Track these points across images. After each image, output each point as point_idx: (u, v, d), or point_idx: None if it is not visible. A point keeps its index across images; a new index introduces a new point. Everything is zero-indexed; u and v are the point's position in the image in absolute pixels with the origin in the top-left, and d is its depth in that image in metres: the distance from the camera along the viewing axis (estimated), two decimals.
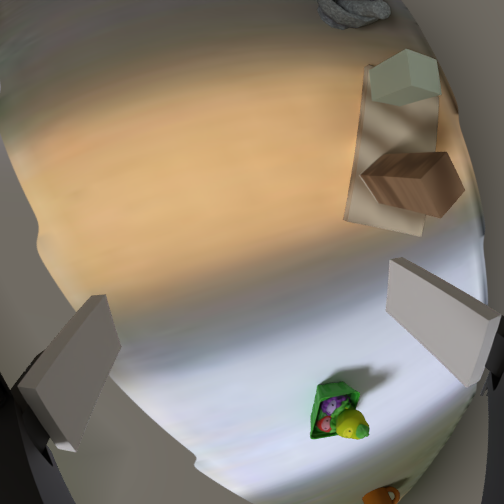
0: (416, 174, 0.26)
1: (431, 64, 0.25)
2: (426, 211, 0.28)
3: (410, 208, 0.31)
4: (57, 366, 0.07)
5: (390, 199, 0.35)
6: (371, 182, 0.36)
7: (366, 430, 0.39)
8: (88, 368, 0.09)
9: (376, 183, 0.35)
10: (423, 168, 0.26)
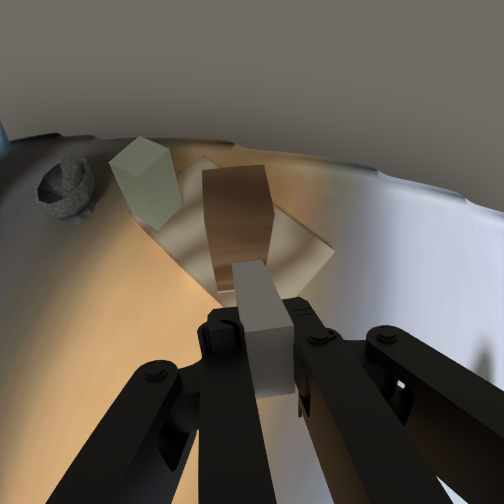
0: None
1: (139, 143, 0.30)
2: (265, 231, 0.23)
3: (264, 251, 0.26)
4: None
5: None
6: (227, 283, 0.31)
7: None
8: None
9: (227, 279, 0.30)
10: None
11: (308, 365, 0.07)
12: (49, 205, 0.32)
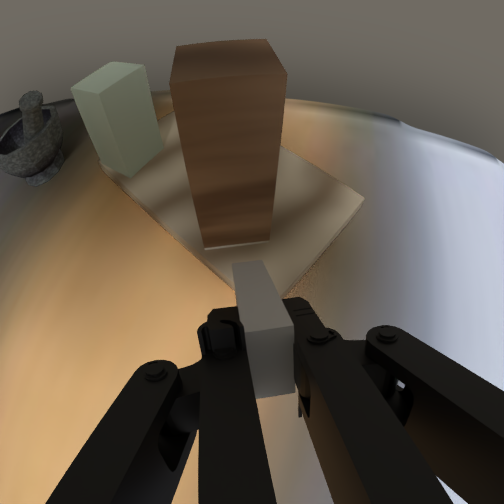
0: None
1: (109, 67, 0.20)
2: (272, 114, 0.13)
3: (271, 162, 0.16)
4: None
5: (255, 208, 0.19)
6: (216, 231, 0.21)
7: None
8: None
9: (216, 221, 0.20)
10: None
11: (308, 365, 0.07)
12: (6, 156, 0.22)
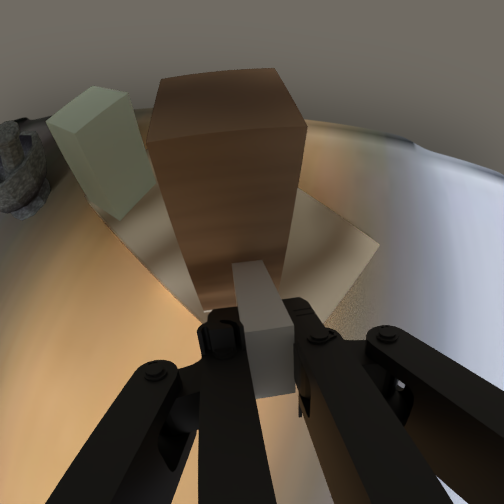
0: None
1: (89, 93, 0.18)
2: (286, 177, 0.10)
3: (281, 230, 0.13)
4: None
5: None
6: (216, 296, 0.18)
7: None
8: None
9: (216, 288, 0.17)
10: None
11: (308, 365, 0.07)
12: None
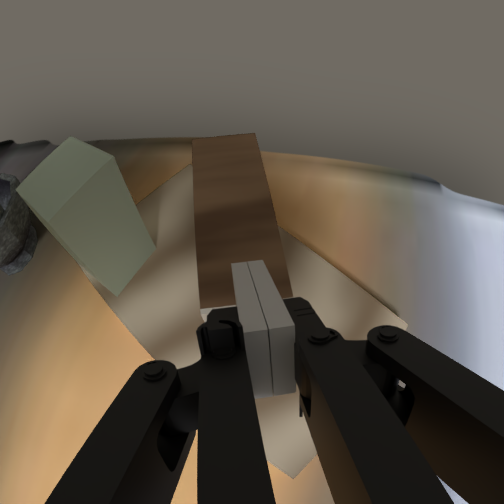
0: None
1: (66, 150, 0.15)
2: (252, 151, 0.21)
3: (261, 182, 0.20)
4: None
5: (259, 233, 0.18)
6: (217, 270, 0.16)
7: None
8: None
9: (217, 252, 0.17)
10: None
11: (309, 365, 0.07)
12: None
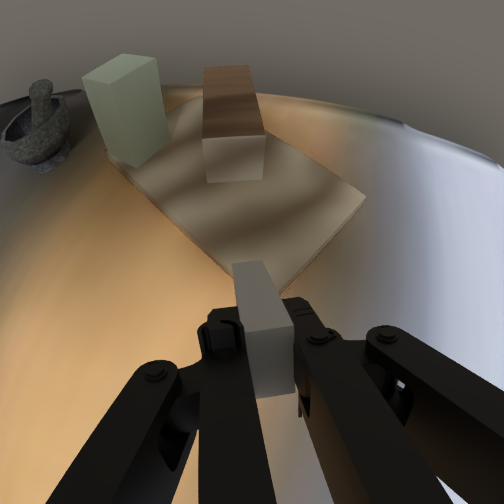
0: None
1: (120, 58, 0.21)
2: (245, 73, 0.28)
3: (249, 86, 0.26)
4: None
5: (245, 107, 0.24)
6: (215, 122, 0.23)
7: None
8: None
9: (216, 115, 0.24)
10: None
11: (308, 365, 0.07)
12: (13, 143, 0.22)
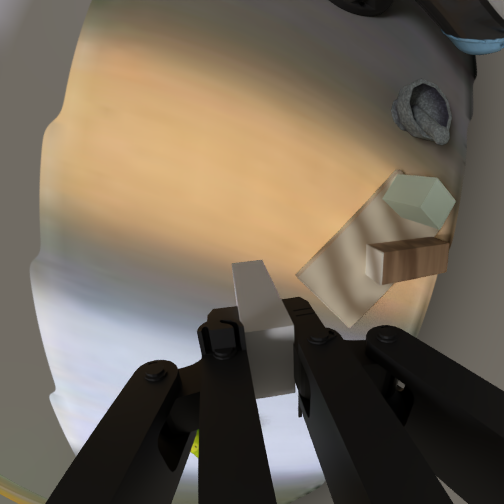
0: (441, 243, 0.41)
1: (448, 202, 0.33)
2: (437, 271, 0.42)
3: (423, 274, 0.41)
4: None
5: (405, 273, 0.41)
6: (395, 258, 0.40)
7: None
8: None
9: (401, 258, 0.40)
10: (437, 241, 0.42)
11: (308, 365, 0.07)
12: (408, 102, 0.34)
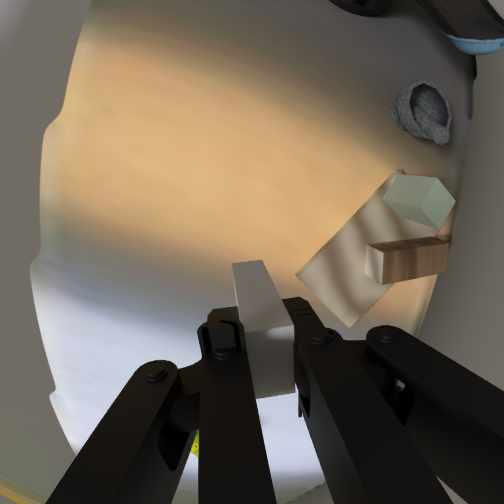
0: (441, 243, 0.41)
1: (448, 202, 0.33)
2: (437, 271, 0.42)
3: (423, 274, 0.41)
4: None
5: (404, 273, 0.41)
6: (394, 258, 0.40)
7: None
8: None
9: (400, 258, 0.40)
10: (437, 241, 0.42)
11: (308, 365, 0.07)
12: (408, 102, 0.34)
